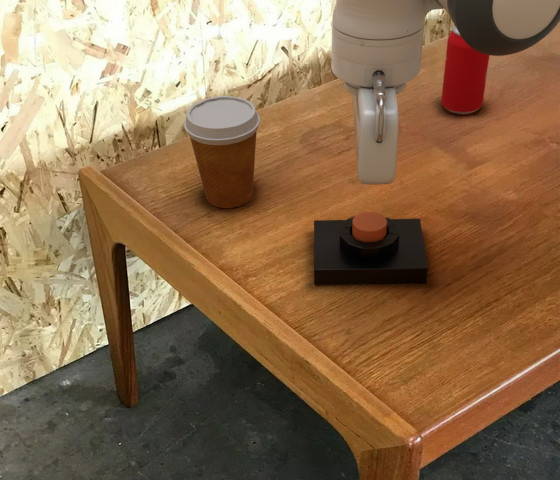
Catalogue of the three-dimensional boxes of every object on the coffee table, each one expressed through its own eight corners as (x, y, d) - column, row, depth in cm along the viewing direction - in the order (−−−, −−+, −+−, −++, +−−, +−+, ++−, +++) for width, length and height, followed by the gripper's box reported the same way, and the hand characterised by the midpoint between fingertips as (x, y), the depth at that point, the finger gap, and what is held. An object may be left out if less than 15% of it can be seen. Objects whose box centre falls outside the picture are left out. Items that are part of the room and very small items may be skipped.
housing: (418, 233, 99) (421, 205, 96) (426, 283, 92) (429, 255, 89) (314, 234, 99) (313, 207, 97) (314, 284, 92) (313, 257, 90)
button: (385, 223, 94) (386, 211, 93) (387, 243, 92) (388, 230, 90) (351, 224, 95) (351, 211, 93) (352, 243, 92) (353, 231, 91)
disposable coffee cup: (254, 171, 111) (248, 89, 102) (273, 207, 104) (268, 122, 96) (187, 184, 109) (176, 101, 101) (202, 221, 103) (191, 136, 94)
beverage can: (481, 98, 123) (493, 19, 115) (481, 117, 119) (493, 37, 111) (441, 97, 124) (449, 18, 116) (439, 115, 120) (448, 36, 112)
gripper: (418, 100, 70) (405, 230, 80) (400, 12, 85) (391, 131, 95) (347, 101, 71) (342, 230, 80) (341, 13, 85) (338, 131, 95)
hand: (369, 176), depth 88 cm, fingers closed
